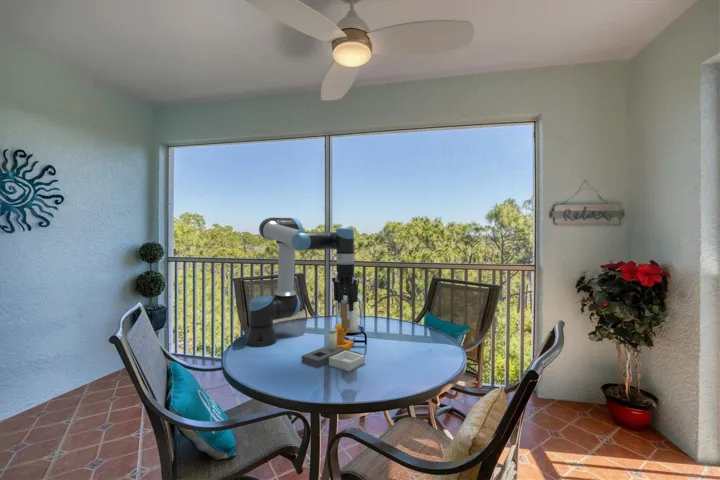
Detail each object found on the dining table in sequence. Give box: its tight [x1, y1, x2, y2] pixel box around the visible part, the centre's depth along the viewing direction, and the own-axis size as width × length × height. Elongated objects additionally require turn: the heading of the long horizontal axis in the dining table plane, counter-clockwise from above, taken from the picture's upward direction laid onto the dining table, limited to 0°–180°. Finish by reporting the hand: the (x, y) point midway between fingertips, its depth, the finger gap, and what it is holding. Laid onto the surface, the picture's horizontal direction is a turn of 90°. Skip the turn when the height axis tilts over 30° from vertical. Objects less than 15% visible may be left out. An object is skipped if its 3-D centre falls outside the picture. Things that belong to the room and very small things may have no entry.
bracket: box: [334, 323, 354, 352], centre depth 170 cm, size 11×7×12 cm, turn 160°
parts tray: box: [328, 350, 366, 373], centre depth 149 cm, size 11×11×4 cm
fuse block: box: [301, 327, 345, 369], centre depth 156 cm, size 18×10×12 cm, turn 143°
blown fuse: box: [340, 298, 351, 330], centre depth 149 cm, size 4×4×12 cm
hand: (345, 317), depth 149 cm, fingers closed on blown fuse, 3 cm apart
